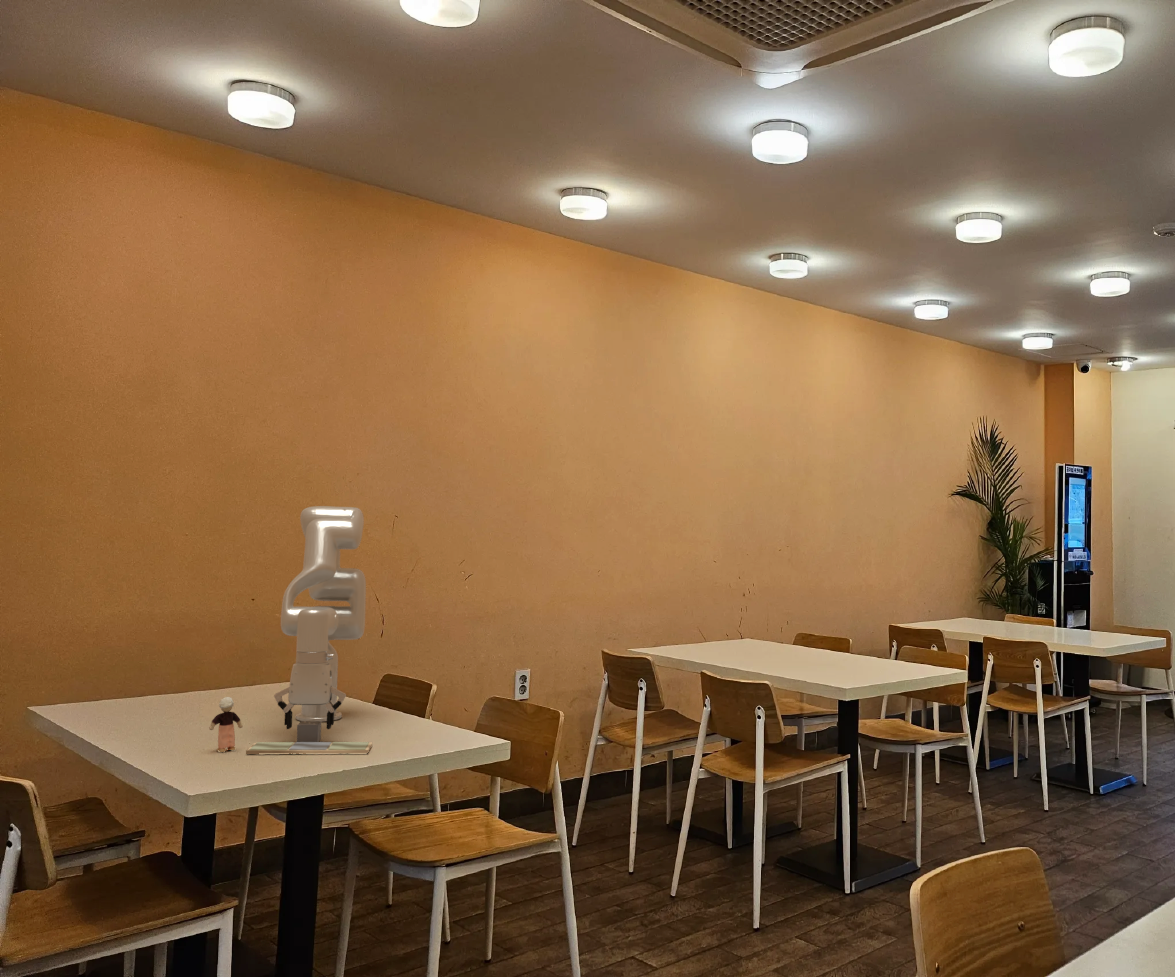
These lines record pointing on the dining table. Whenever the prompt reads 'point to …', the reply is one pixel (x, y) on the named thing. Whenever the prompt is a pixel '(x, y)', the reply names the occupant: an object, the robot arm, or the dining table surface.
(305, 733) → the die
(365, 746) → the board
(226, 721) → the grandmother figurine
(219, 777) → the dining table surface
